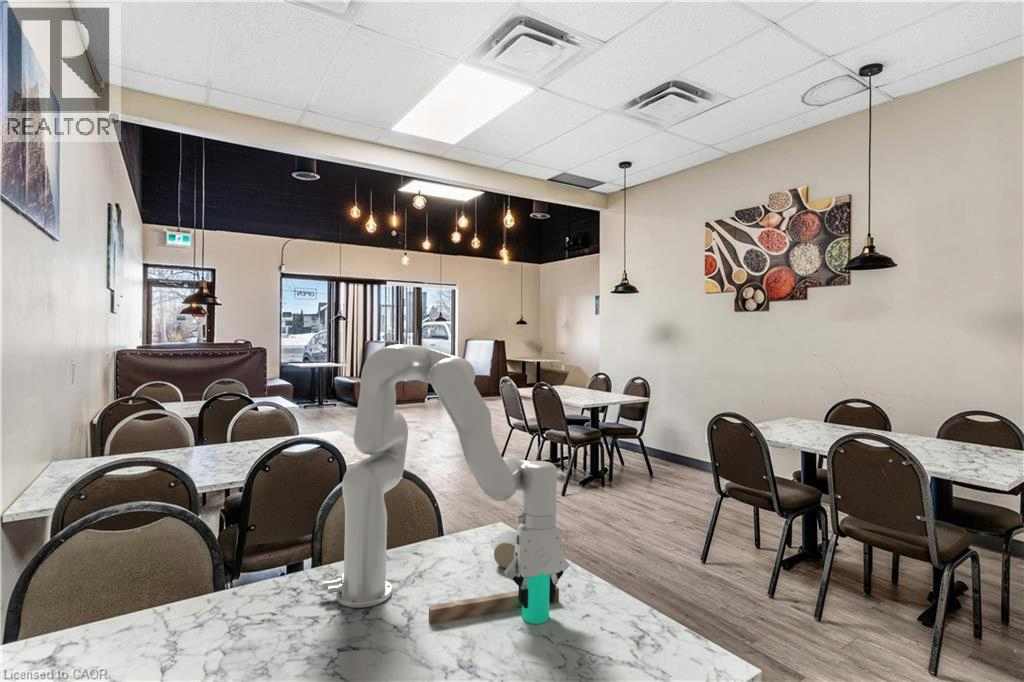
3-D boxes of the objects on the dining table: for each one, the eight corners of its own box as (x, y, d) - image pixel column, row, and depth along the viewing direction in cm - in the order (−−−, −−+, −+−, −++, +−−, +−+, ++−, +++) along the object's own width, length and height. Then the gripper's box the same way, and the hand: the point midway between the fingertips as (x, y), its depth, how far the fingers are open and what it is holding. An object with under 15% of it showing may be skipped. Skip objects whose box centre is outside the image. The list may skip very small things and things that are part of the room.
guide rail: (430, 624, 105) (430, 609, 105) (428, 619, 107) (429, 604, 107) (558, 601, 115) (559, 587, 116) (555, 597, 117) (555, 583, 117)
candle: (546, 625, 105) (548, 568, 105) (519, 621, 106) (520, 565, 106) (550, 611, 111) (552, 557, 111) (524, 607, 112) (525, 553, 112)
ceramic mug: (491, 568, 132) (493, 539, 132) (499, 556, 140) (500, 528, 140) (531, 573, 130) (532, 544, 130) (536, 561, 138) (537, 533, 138)
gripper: (508, 529, 102) (506, 618, 102) (581, 521, 109) (579, 605, 108) (496, 517, 109) (494, 600, 109) (565, 510, 116) (564, 589, 115)
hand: (536, 602), depth 109 cm, fingers closed on candle, 5 cm apart
